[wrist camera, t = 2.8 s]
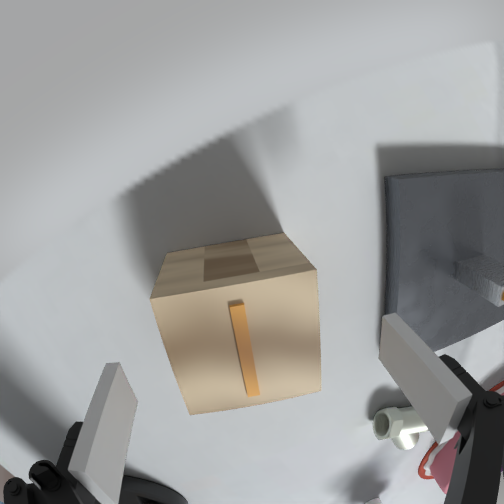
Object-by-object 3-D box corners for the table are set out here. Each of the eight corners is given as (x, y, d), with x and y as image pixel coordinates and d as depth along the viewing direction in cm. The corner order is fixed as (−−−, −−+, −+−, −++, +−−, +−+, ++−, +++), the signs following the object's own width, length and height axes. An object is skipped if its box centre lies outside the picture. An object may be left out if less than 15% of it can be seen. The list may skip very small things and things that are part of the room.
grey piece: (380, 355, 26) (422, 409, 19) (384, 176, 21) (454, 192, 14) (493, 311, 28) (537, 343, 20) (508, 168, 22) (567, 181, 15)
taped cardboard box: (293, 331, 24) (322, 392, 17) (192, 350, 23) (189, 417, 17) (283, 232, 22) (317, 270, 15) (167, 253, 21) (148, 300, 14)
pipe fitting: (405, 431, 33) (432, 395, 30) (417, 452, 29) (447, 417, 27) (356, 438, 31) (382, 401, 29) (366, 463, 28) (396, 427, 25)
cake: (536, 349, 34) (574, 380, 24) (505, 430, 42) (529, 459, 32) (424, 430, 33) (460, 482, 23) (411, 492, 41) (432, 529, 31)
